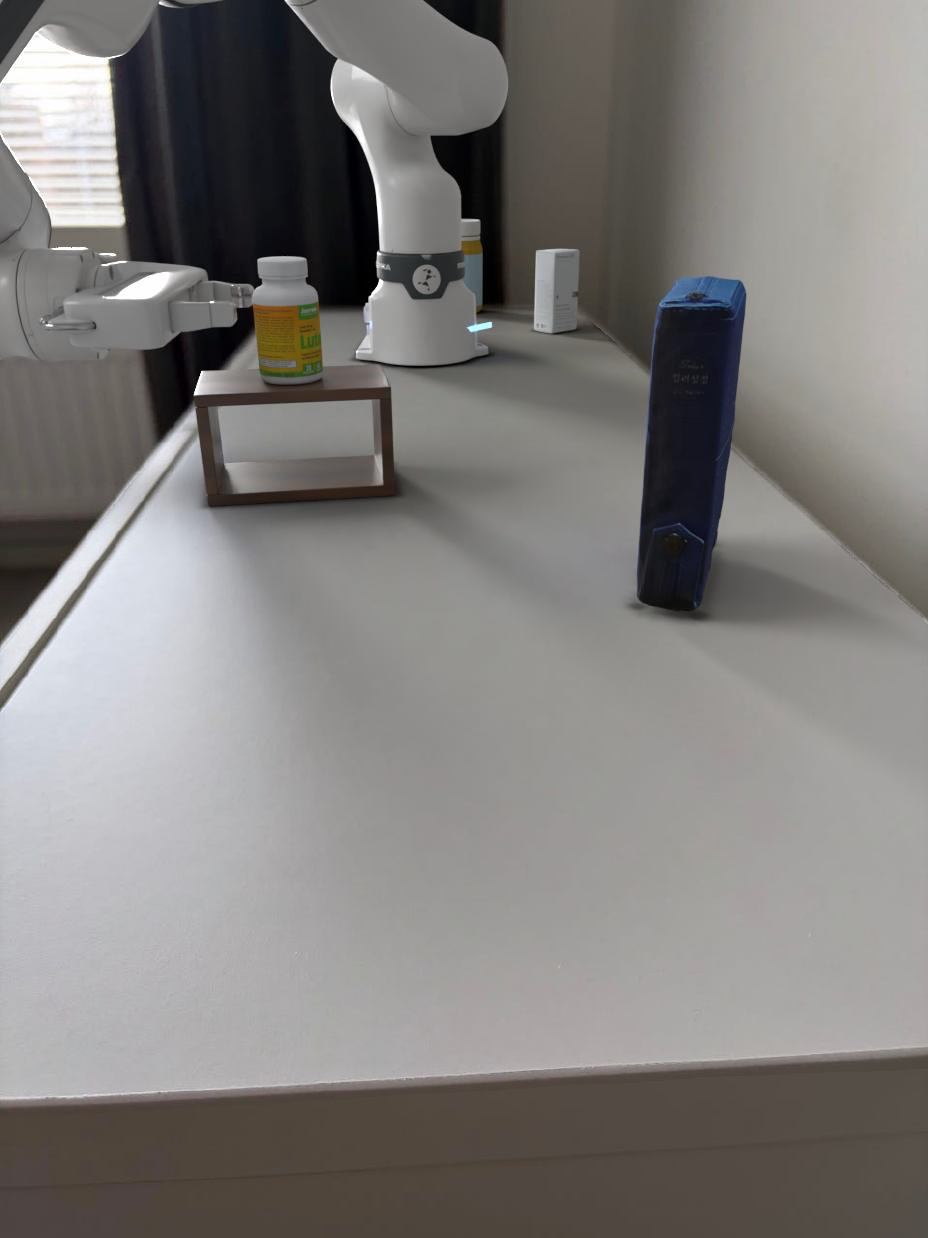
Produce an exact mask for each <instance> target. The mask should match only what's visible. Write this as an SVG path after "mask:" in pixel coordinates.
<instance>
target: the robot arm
mask: <svg viewBox="0 0 928 1238" xmlns="http://www.w3.org/2000/svg"><path fill="white" fill-rule="evenodd" d="M221 1H222V0H0V86H1V85H2V83H3V82H4V81H5V79H6V78H7V76H8V75H9V74H10V72H11V70H13V67H14V66H15V64H16V63H17V62H18V60H19V58H20V57H21V55H22V54H23V53H24V51H25V50H26V49H27V47H28V46H29V44H30V43H31V41H32V40H33V38H34V37H35V35H38V36H39V37H40V38H42V39H43V40H45V41H46V42H47V43H50V44H51V45H53V46H55V47H57V48H59V49H61V50H63V51H66V52H68V53H70V54H73V55H76V56H79V57H83V58H87V59H95V60H105V59H113V58H117V57H120V56H123V55H125V54H127V53H129V52H130V51H131V49H132V48H133V47H135V45H136V44H138V42H139V41H140V39H141V38H142V36H143V35H144V34H145V32H146V30H147V29H148V27H149V25H150V23H151V21H152V19H153V17H154V15H155V12H156V10H157V8H158V5H161V6H164V7H168V8H175V9H190V8H195V7H197V6H200V5H201V4H206V3H207V4H208V3H209V4H210V3H215V2H221ZM284 2H285V4H287V5H288V6H289V8H290V9H291V10H292V11H293V12H294V13H295V14H296V16H298V18H299V19H300V21H302V23H303V24H304V26H306V27H307V29H308V30H309V31H310V32H311V34H312V35H313V36H314V37H315V38H316V39H317V40H318V42H319V43H321V44H320V45H322V46H323V48H324V49H325V50H326V51H327V52H328V53H330V54H331V55H332V56H333V57H335V58H336V61H335V63H334V66H333V68H332V72H331V78H330V93H331V99H332V102H333V106H334V108H335V111H336V113H337V115H338V116H339V118H340V119H341V120H342V122H343V123H345V125H346V126H348V128H349V129H350V130H351V131H352V133H353V134H354V135H355V137H356V138H357V140H358V142H359V144H360V146H361V148H362V150H363V153H364V155H365V158H366V161H367V163H368V166H369V169H370V172H371V176H372V181H373V184H374V185H373V186H374V189H375V196H376V207H377V222H378V223H377V224H378V241H379V249H378V250H377V252H376V261H375V267H376V277H377V279H378V284H377V286H376V287H375V289H374V290H373V291H372V292H371V295H369V296H368V302H366V303H365V305H364V306H363V322H364V323H365V324H366V327H365V333H366V335H365V337H364V338H363V340H362V342H361V343H360V344H359V346H358V348H357V349H356V351H355V359H357V360H362V361H372V362H373V361H374V362H380V363H383V364H389V365H398V366H415V367H416V366H418V367H419V366H420V367H421V366H425V367H426V366H442V365H450V364H451V365H452V364H457V363H462V362H466V361H468V360H471V359H473V358H477V357H482V356H486V355H489V347H488V345H486V344H484V343H481V342H479V341H478V331H482V330H486V329H491V328H493V322H492V321H488V322H484V323H479V324H478V323H477V313H476V299H475V294H474V293H472V291H471V290H470V289H469V288H468V287H467V286H466V285H465V283H464V281H463V278H464V277H465V258H464V251H463V250H462V249H461V219H462V194H461V189H460V185H458V183H457V180H456V179H455V178H454V177H453V176H452V175H451V174H450V173H448V172H447V171H445V169H444V168H443V167H442V166H441V164H440V163H439V160H438V159H437V157H436V153H435V152H434V147H433V144H432V139H431V136H461V135H465V134H468V133H469V134H470V133H472V132H473V133H474V132H475V131H478V130H481V129H485V128H488V127H490V126H492V125H493V124H495V122H496V121H497V120H498V118H499V117H500V115H502V112H503V110H504V107H505V105H506V101H507V98H508V92H509V76H508V70H507V69H508V68H507V66H506V62H505V60H504V57H503V56H502V53H501V51H500V50H499V48H498V47H497V46H496V45H495V44H494V43H493V42H492V41H490V40H489V39H487V38H484V37H481V36H479V35H476V34H474V33H471V32H470V31H467V30H465V29H464V28H462V27H460V26H459V25H457V24H455V23H454V22H452V21H451V20H449V19H448V18H446V17H445V16H444V15H442V14H441V13H440V12H438V11H437V10H436V9H435V8H434V7H432V6H431V5H430V4H428V3H427V2H426V1H425V0H284ZM52 227H53V226H52V220H51V216H50V211H49V209H48V207H47V205H46V202H45V200H44V199H43V196H42V195H41V193H40V191H39V190H38V188H37V187H36V185H35V183H34V182H33V180H32V179H31V177H30V175H29V174H28V172H27V171H26V170H25V168H24V167H23V166H22V164H21V163H20V162H19V160H18V158H17V157H16V156H15V153H14V152H13V150H12V149H11V148H10V146H9V144H8V143H7V142H6V140H5V138H4V137H3V135H2V132H1V131H0V361H1V360H4V359H9V358H26V359H29V360H32V361H37V362H101V361H104V360H105V359H106V358H107V357H108V355H109V353H110V350H126V351H127V350H129V351H131V350H133V351H134V350H135V351H144V350H145V351H146V350H154V349H161V348H164V347H165V346H166V345H167V344H168V343H170V342H171V341H172V340H173V339H174V338H176V337H177V336H178V335H179V334H180V333H187V332H189V333H190V332H194V331H200V330H205V329H210V328H231V327H233V326H234V325H235V323H236V322H237V321H238V313H237V309H241V308H244V309H246V308H250V307H253V292H254V290H255V288H254V286H253V285H252V284H250V283H231V282H224V281H218V280H209V275H208V272H207V270H206V269H203V268H201V267H196V266H191V265H186V264H185V265H183V264H172V263H162V262H161V263H160V262H151V261H149V262H148V261H133V260H132V261H129V260H120V261H119V257H118V255H117V254H115V253H98V252H95V251H93V250H92V249H90V248H87V247H72V248H71V247H58V248H57V247H56V248H50V246H51V240H52V239H51V238H52Z"/></svg>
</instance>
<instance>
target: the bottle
mask: <svg viewBox="0 0 928 1238" xmlns="http://www.w3.org/2000/svg"><path fill="white" fill-rule="evenodd" d="M461 249H462V250H463V251H464V258H465V277H464V278H463V281H464V283H465V285H466V286H467V287H468V288H469V289H470V290H471V291H472V293H474V294H475V299H476V314H477V313H480V312H481V310H482V308H483V276H484V275H483V271H484V270H483V269H484V268H483V267H484V266H483V263H484V261H483V260H484V257H483V255H484V253H483V245H482V243H481V220H480V219H475V218H461Z"/></svg>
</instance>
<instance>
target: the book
mask: <svg viewBox="0 0 928 1238" xmlns="http://www.w3.org/2000/svg"><path fill="white" fill-rule="evenodd" d="M746 303H747V291H746V288H745V285H744V283H743V282H742V281H741V280H740V279H731V278H724V277H723V278H722V277H717V276H713V275H712V276H711V275H706V276H698V277H697V276H696V277H680V278H677V279H676V281H675V282H674V283H673V285H672V287H671V289H670V291H669V292H667V293H666V295H664V296H663V298H662V299H661V300H660V301H659V304H658V305H657V309H656V315H655V317H654V319H655V322H654V326H653V328H654V329H653V339H652V348H651V361H650V370H649V371H650V372H649V389H648V400H647V403H648V404H647V417H646V434H645V435H646V436H645V446H644V461H643V462H644V463H643V475H642V476H643V478H642V493H641V494H642V495H641V505H640V517H639V518H640V519H639V537H638V538H639V539H638V549H637V550H638V551H637V552H638V553H637V563H636V564H637V565H636V597H637V599H638V601H639V602H641V603H642V604H644V605H646V606H648V607H649V606H650V607H655V608H659V609H665V610H668V611H672V612H688V613H690V612H694V611H695V610H697V609H698V608H699V607H700V606H701V605H702V601H703V598H704V597H703V595H704V590H705V587H706V583H707V579H708V576H709V572H710V570H711V565H712V558H713V557H712V556H713V552H714V549H715V547H716V545H717V541H718V534H719V524H720V520H721V517H722V512H723V511H722V510H723V506H724V501H725V493H726V491H725V490H726V481H727V475H728V474H727V473H728V467H729V461H730V456H731V450H732V441H733V431H734V425H735V420H736V400H737V393H738V383H739V374H740V373H739V372H740V364H741V355H742V344H743V333H744V326H745V324H744V323H745V318H746V305H747V304H746Z"/></svg>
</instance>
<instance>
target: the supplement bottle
mask: <svg viewBox="0 0 928 1238" xmlns="http://www.w3.org/2000/svg"><path fill="white" fill-rule="evenodd" d="M256 262H257V274H258V278H259V279H261V285H260V286H257V287H256V288H254V292H253V305H252V309H253V310H252V311H253V319H254V320H253V321H254V329H255V341H256V349H257V363H258V369H259V372H260V377H261V379H262V380H263V381H265V382H267V383H270V384H278V385H294V384H306V383H311V382H315V381H317V380H319V379H321V378H322V376H323V367H324V364H323V363H324V362H323V350H322V348H323V347H322V346H323V345H322V334H321V333H322V331H321V319H320V317H321V316H320V304H319V294H318V291H317V290H316V288H315V287H314V286H312V285H310V284H308V283H307V281H306V278H308V277H309V275H308V271H309V270H308V260H307V258H306V257H303V256H290V255H289V256H288V255H287V256H283V255H281V256H280V255H279V256H266V257H265V256H264V257H260V258H258V259H257V261H256Z"/></svg>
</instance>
